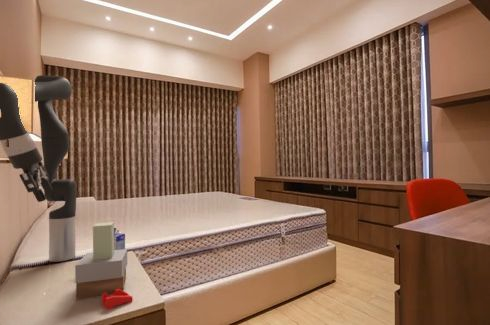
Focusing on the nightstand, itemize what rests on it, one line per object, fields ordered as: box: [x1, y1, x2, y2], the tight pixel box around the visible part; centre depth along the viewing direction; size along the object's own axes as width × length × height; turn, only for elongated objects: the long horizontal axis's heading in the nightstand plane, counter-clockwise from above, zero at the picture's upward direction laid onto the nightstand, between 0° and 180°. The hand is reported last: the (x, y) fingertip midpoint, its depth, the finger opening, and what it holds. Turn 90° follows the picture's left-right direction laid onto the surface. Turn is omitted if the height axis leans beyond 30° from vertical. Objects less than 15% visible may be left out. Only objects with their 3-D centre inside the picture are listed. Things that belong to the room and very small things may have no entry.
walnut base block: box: [75, 268, 127, 301], centre depth 82 cm, size 12×12×5 cm
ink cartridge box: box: [114, 227, 126, 250], centre depth 100 cm, size 10×6×14 cm, turn 78°
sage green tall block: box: [92, 221, 115, 260], centre depth 82 cm, size 5×5×10 cm
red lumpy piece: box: [101, 289, 133, 310], centre depth 72 cm, size 6×5×3 cm
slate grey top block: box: [74, 248, 128, 284], centre depth 82 cm, size 12×12×5 cm
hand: (46, 195), depth 87 cm, fingers open, 8 cm apart
